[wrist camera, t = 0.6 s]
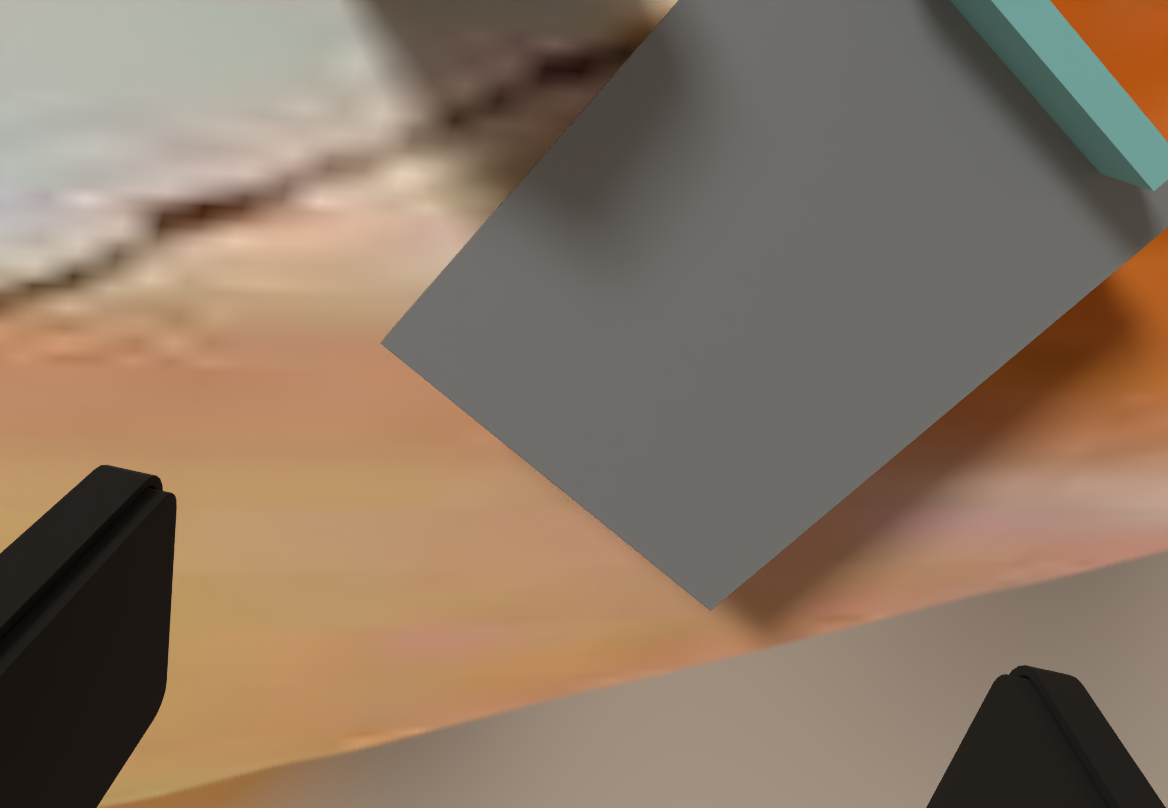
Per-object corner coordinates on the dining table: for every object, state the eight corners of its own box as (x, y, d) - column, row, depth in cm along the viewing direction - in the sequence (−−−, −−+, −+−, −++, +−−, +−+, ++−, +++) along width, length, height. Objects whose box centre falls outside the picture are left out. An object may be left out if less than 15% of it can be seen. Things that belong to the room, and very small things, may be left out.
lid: (845, -191, 25) (883, -224, 22) (1177, 201, 29) (1255, 227, 25) (385, 335, 31) (357, 375, 28) (708, 598, 35) (719, 662, 32)
